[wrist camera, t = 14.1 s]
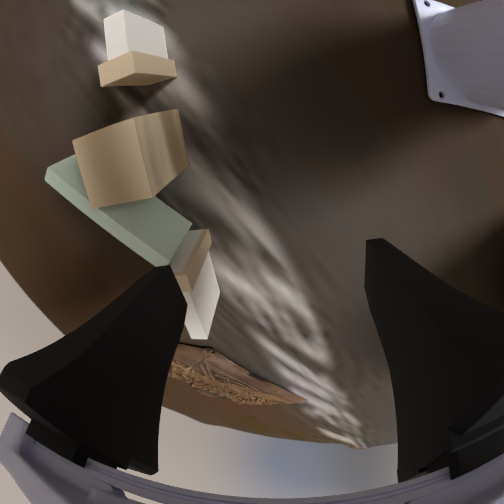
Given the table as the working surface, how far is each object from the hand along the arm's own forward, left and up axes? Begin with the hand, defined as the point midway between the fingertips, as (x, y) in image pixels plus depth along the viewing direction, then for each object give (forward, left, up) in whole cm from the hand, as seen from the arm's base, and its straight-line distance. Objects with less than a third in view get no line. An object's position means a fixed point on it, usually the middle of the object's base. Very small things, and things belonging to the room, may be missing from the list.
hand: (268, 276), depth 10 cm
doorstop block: (+7, -4, -10) cm, 13 cm away
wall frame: (+6, -3, -9) cm, 12 cm away
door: (+10, -1, -9) cm, 13 cm away
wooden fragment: (+9, +22, -10) cm, 26 cm away
